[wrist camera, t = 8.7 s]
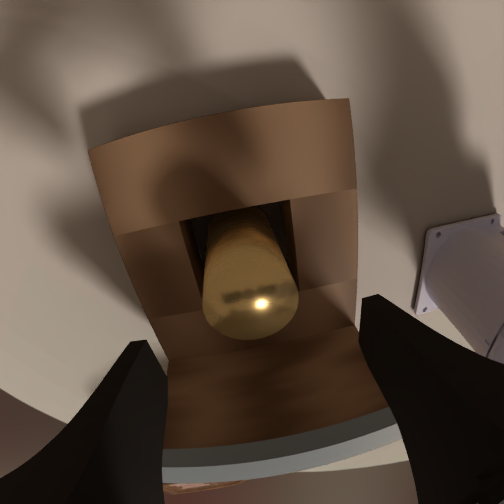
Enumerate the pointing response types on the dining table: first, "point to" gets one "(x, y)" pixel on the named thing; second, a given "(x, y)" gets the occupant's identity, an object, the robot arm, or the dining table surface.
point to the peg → (246, 277)
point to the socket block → (300, 266)
